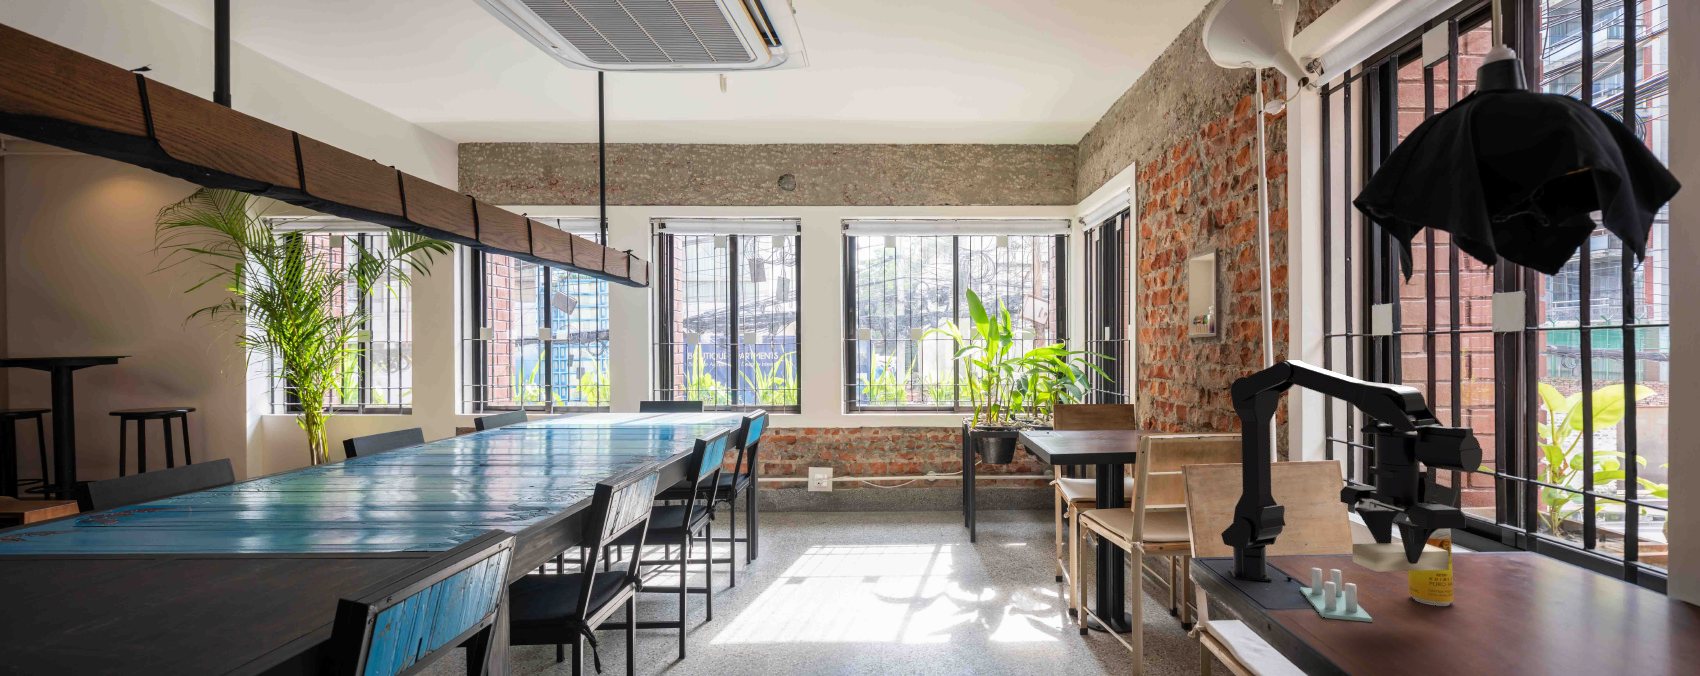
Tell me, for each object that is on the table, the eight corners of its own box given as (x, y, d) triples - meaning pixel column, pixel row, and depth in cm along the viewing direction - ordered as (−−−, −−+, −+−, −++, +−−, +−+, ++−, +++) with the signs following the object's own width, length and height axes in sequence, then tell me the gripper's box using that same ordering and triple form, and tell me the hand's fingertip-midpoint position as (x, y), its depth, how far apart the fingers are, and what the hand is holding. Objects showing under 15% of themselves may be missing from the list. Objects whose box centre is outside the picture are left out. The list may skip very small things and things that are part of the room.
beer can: (1436, 608, 120) (1433, 520, 121) (1400, 597, 126) (1397, 513, 126) (1462, 604, 122) (1458, 517, 122) (1425, 593, 128) (1422, 510, 128)
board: (1376, 571, 112) (1376, 552, 112) (1352, 561, 117) (1352, 543, 117) (1448, 569, 113) (1448, 550, 113) (1422, 559, 118) (1421, 542, 118)
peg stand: (1300, 590, 131) (1299, 563, 131) (1344, 593, 128) (1343, 566, 128) (1322, 617, 118) (1321, 587, 118) (1372, 621, 115) (1371, 591, 115)
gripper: (1499, 472, 106) (1501, 575, 106) (1397, 452, 125) (1399, 540, 125) (1428, 474, 106) (1430, 577, 105) (1337, 454, 124) (1338, 542, 124)
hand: (1399, 558), depth 115 cm, fingers closed on board, 5 cm apart
